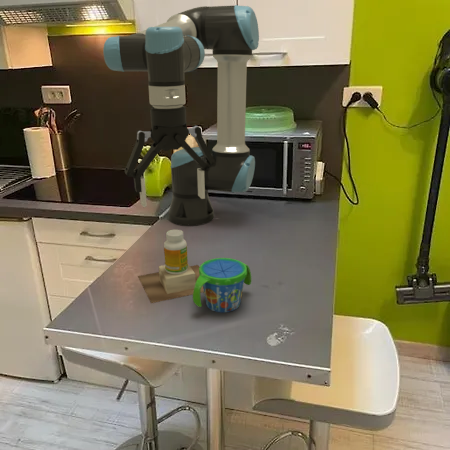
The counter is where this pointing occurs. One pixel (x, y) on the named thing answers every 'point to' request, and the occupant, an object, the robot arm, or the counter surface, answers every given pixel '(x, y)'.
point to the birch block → (177, 280)
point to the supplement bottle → (175, 252)
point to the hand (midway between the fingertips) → (173, 201)
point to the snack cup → (221, 283)
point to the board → (157, 290)
